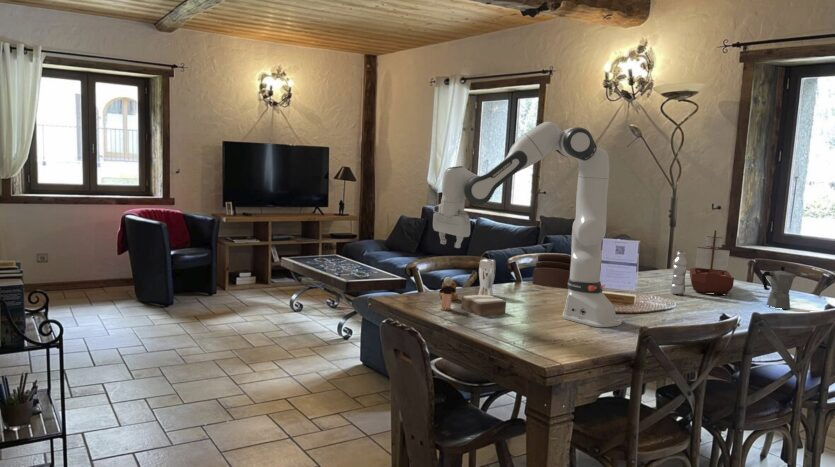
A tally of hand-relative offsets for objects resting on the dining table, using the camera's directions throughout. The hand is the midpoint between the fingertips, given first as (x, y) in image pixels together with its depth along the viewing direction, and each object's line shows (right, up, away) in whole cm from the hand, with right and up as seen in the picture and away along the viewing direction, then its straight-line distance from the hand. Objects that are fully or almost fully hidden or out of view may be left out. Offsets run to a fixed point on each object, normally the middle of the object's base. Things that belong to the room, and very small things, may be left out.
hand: (450, 245), depth 242 cm
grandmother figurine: (-1, -25, +3) cm, 25 cm away
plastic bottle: (+107, -24, +54) cm, 122 cm away
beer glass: (+17, -22, +33) cm, 43 cm away
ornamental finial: (0, -23, +21) cm, 31 cm away
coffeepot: (+143, -28, +36) cm, 150 cm away
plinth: (+13, -25, +3) cm, 28 cm away
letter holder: (+53, -20, +63) cm, 84 cm away
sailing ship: (+130, -23, +71) cm, 150 cm away
